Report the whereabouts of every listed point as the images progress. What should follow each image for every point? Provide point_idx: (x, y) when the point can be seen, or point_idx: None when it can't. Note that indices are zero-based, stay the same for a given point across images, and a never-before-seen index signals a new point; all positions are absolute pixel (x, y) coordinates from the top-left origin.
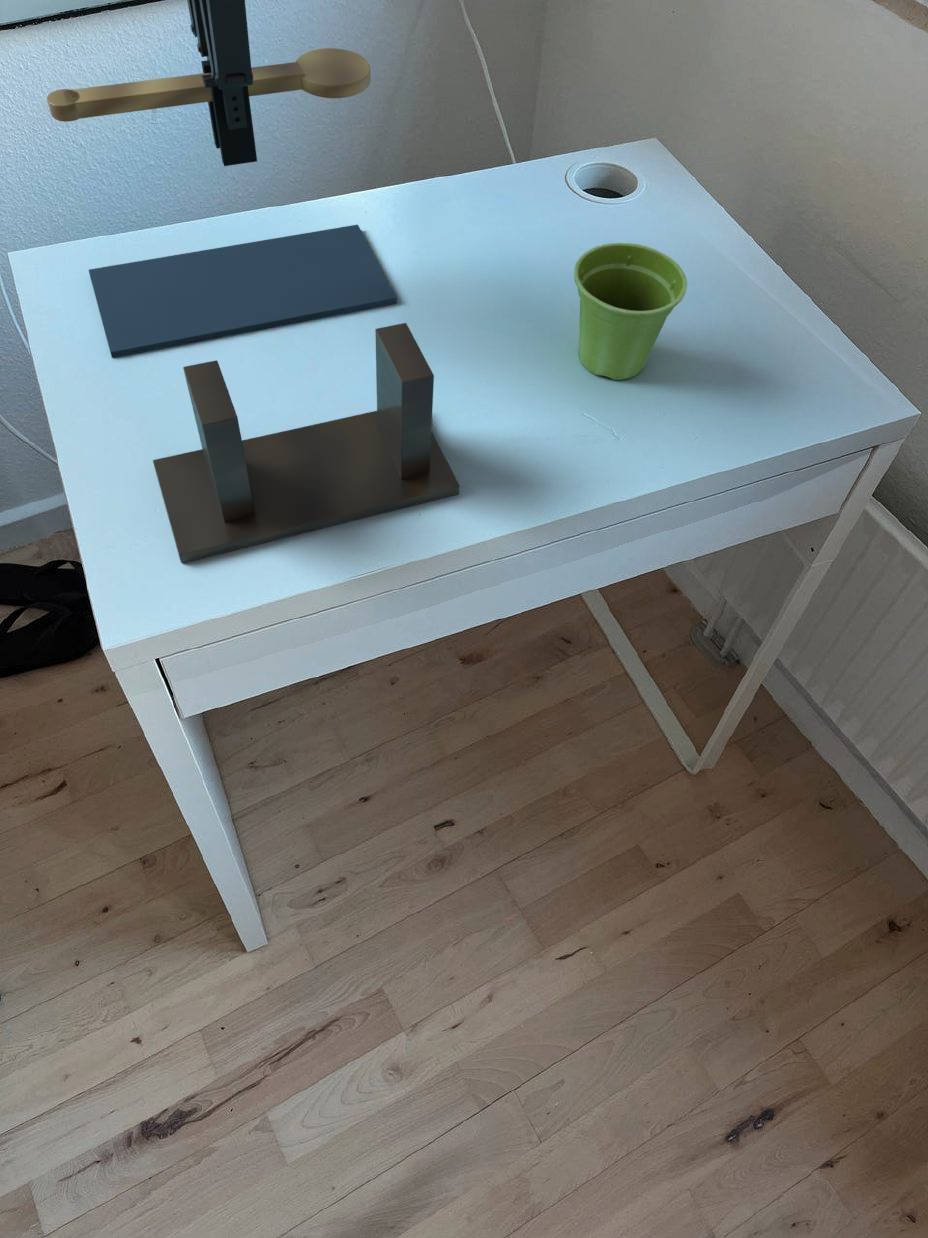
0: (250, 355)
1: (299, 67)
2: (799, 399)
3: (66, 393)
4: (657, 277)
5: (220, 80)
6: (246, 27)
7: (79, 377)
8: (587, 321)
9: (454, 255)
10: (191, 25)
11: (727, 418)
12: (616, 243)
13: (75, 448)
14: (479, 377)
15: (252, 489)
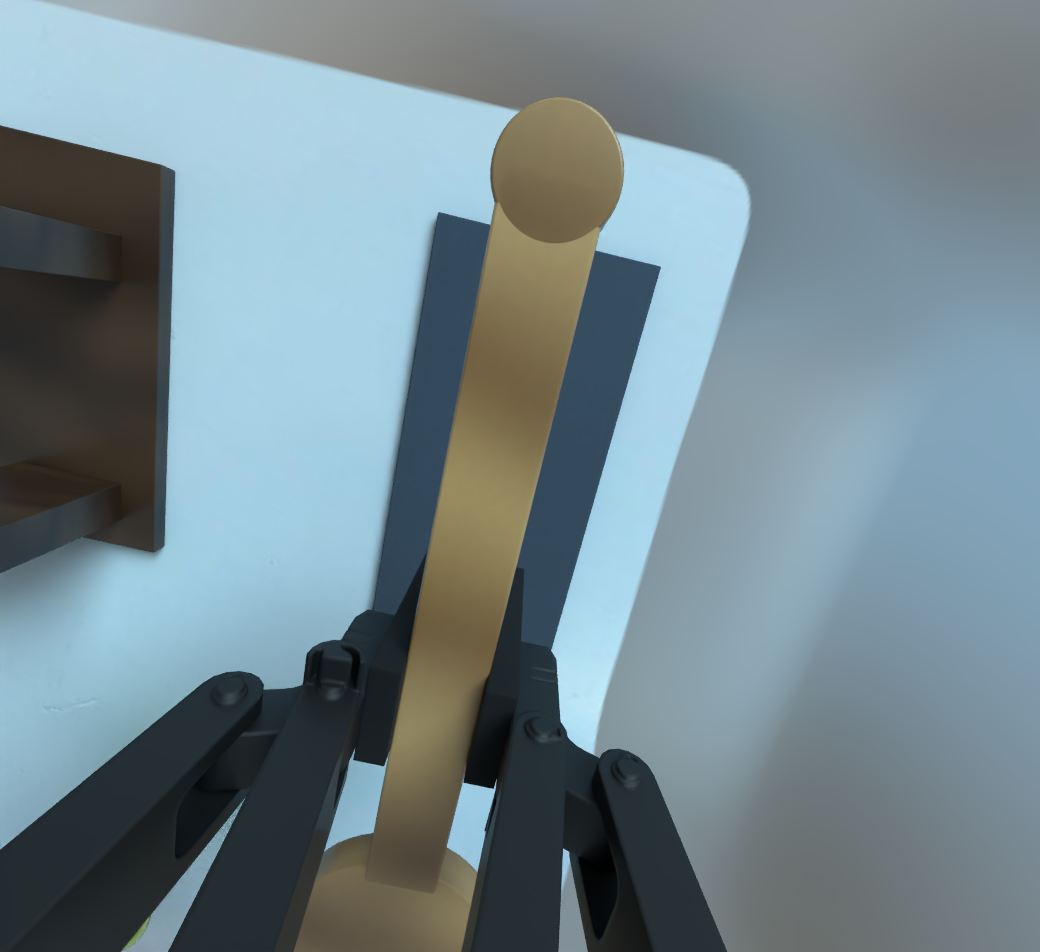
0: (354, 409)
1: (402, 884)
2: None
3: (391, 107)
4: None
5: (191, 697)
6: None
7: (419, 144)
8: None
9: None
10: (624, 776)
11: (41, 812)
12: (143, 926)
13: (262, 69)
14: (195, 639)
15: (58, 275)
